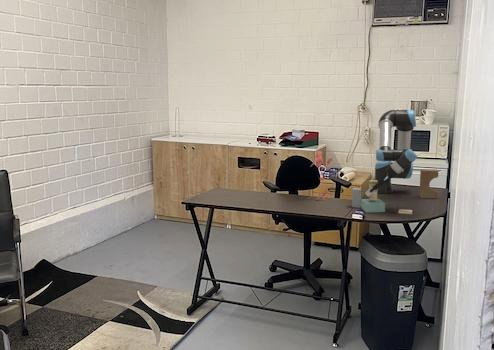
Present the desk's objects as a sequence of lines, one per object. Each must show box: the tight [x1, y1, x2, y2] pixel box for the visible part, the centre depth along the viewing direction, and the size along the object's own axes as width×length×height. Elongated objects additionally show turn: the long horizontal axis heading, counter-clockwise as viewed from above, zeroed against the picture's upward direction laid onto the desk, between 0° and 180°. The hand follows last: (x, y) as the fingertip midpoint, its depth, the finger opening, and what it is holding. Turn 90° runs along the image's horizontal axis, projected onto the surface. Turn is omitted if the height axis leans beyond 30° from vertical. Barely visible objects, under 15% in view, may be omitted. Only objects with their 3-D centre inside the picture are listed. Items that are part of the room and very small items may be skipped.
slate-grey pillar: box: [351, 187, 362, 209], centre depth 305 cm, size 5×5×12 cm
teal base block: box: [360, 198, 386, 213], centre depth 296 cm, size 12×12×6 cm
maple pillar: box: [368, 179, 379, 200], centre depth 295 cm, size 5×5×12 cm
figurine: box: [306, 149, 333, 201], centre depth 329 cm, size 15×26×35 cm, turn 146°
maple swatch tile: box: [397, 208, 413, 215], centre depth 289 cm, size 8×8×1 cm
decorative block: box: [418, 168, 440, 200], centre depth 324 cm, size 11×6×20 cm, turn 78°
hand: (367, 193), depth 296 cm, fingers closed on maple pillar, 5 cm apart
